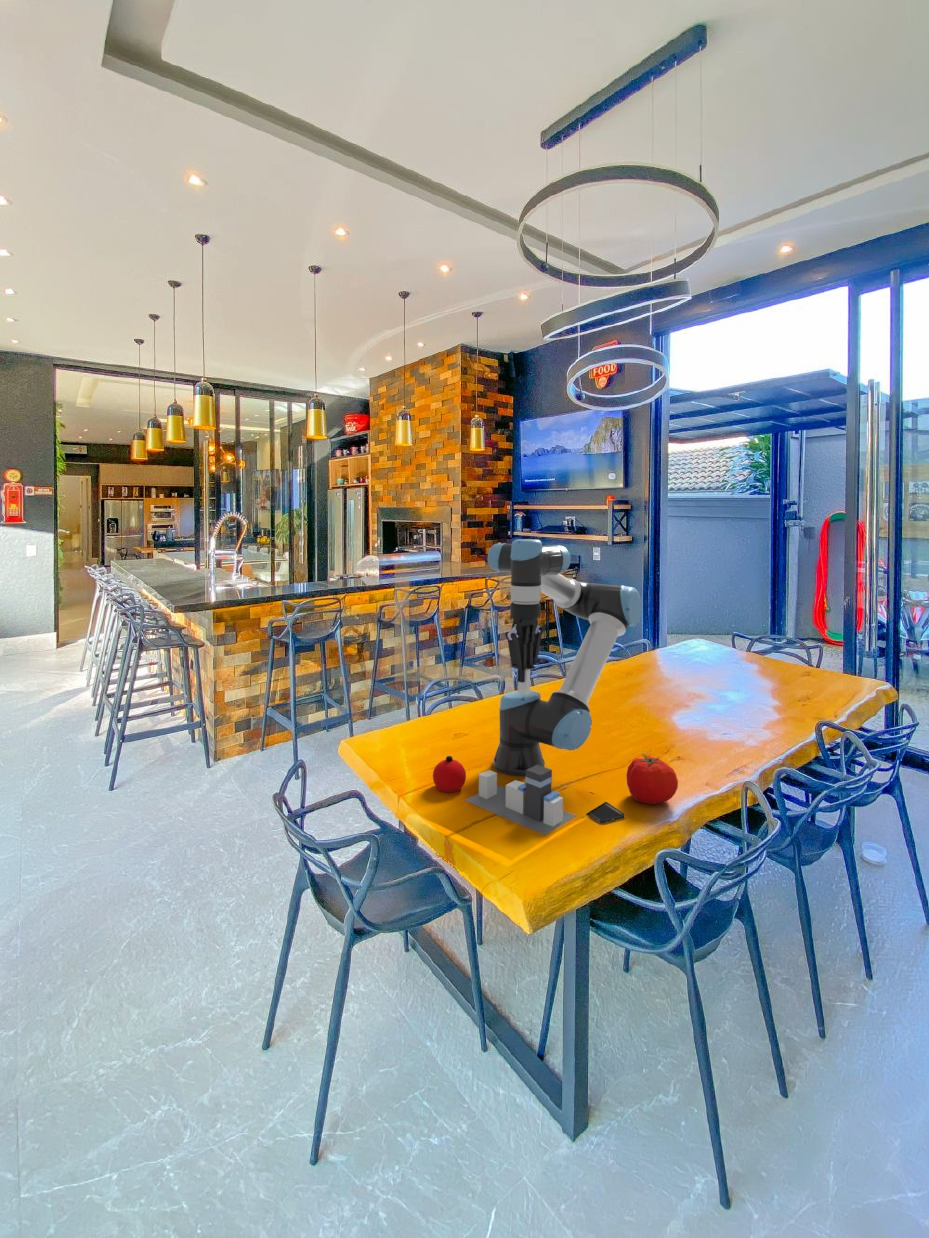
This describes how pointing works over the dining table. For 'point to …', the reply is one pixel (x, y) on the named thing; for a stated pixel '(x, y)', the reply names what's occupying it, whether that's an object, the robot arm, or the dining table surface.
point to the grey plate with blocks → (518, 804)
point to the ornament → (449, 775)
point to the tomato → (651, 780)
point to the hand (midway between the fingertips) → (523, 693)
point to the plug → (537, 791)
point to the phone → (606, 813)
